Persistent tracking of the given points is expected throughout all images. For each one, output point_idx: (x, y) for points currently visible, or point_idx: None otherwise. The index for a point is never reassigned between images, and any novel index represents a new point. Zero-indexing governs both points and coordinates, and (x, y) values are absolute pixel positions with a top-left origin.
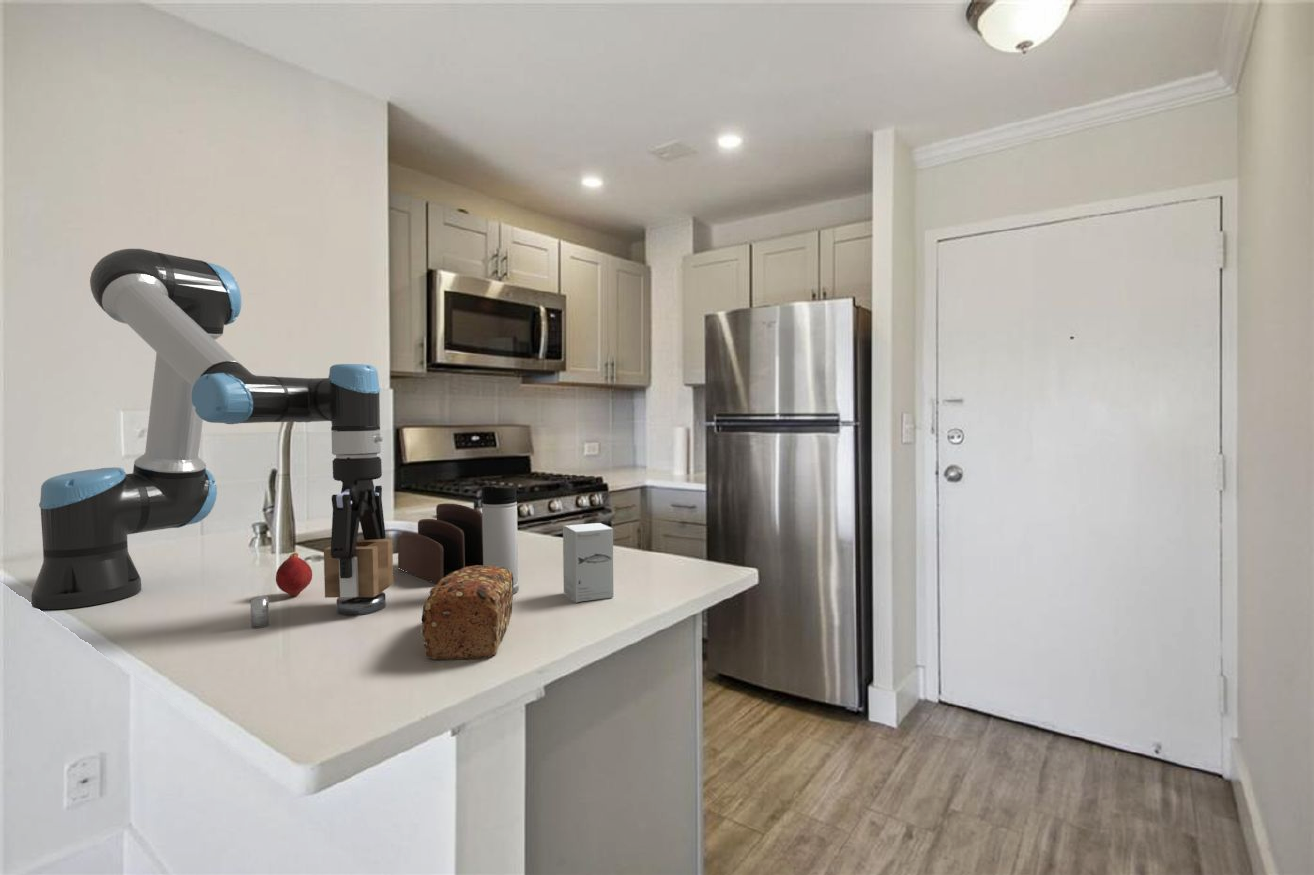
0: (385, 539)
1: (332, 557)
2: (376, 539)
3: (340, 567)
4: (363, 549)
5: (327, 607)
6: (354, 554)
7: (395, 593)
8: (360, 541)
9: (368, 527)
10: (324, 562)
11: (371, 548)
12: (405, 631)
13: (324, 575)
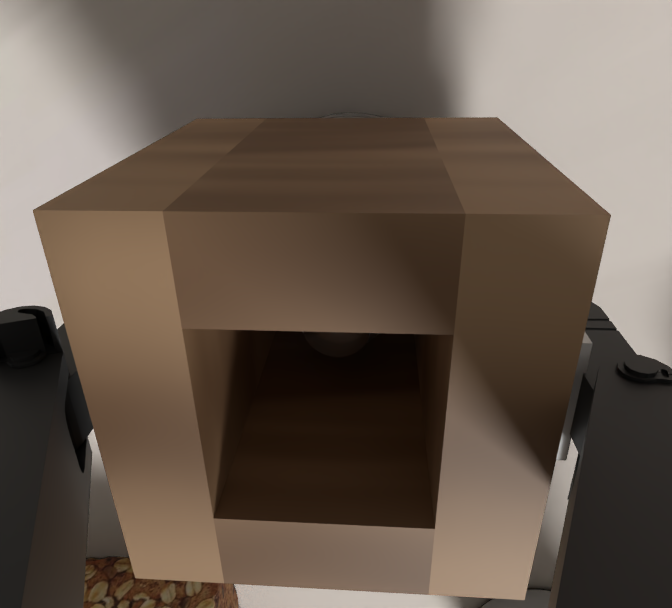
0: (526, 561)
1: (4, 314)
2: (540, 501)
3: (59, 333)
4: (122, 525)
5: (388, 21)
6: (89, 456)
7: (612, 283)
8: (453, 405)
9: (557, 569)
10: (103, 175)
11: (145, 569)
12: (99, 468)
13: (148, 146)
